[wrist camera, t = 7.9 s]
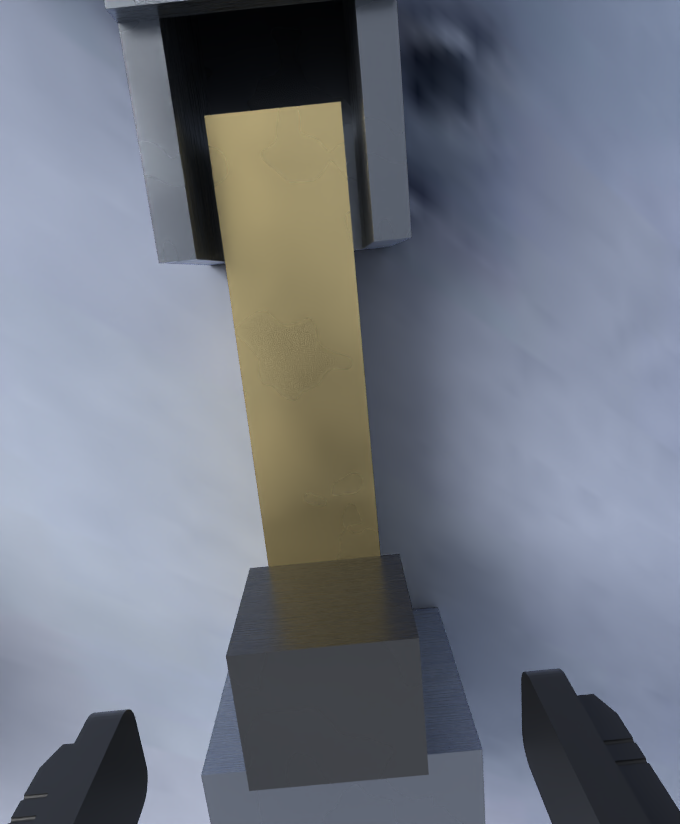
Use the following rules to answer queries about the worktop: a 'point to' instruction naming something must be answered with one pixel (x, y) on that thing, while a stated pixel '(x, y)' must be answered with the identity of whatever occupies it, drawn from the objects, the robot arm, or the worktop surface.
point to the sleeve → (262, 103)
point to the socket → (371, 799)
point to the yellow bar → (310, 471)
